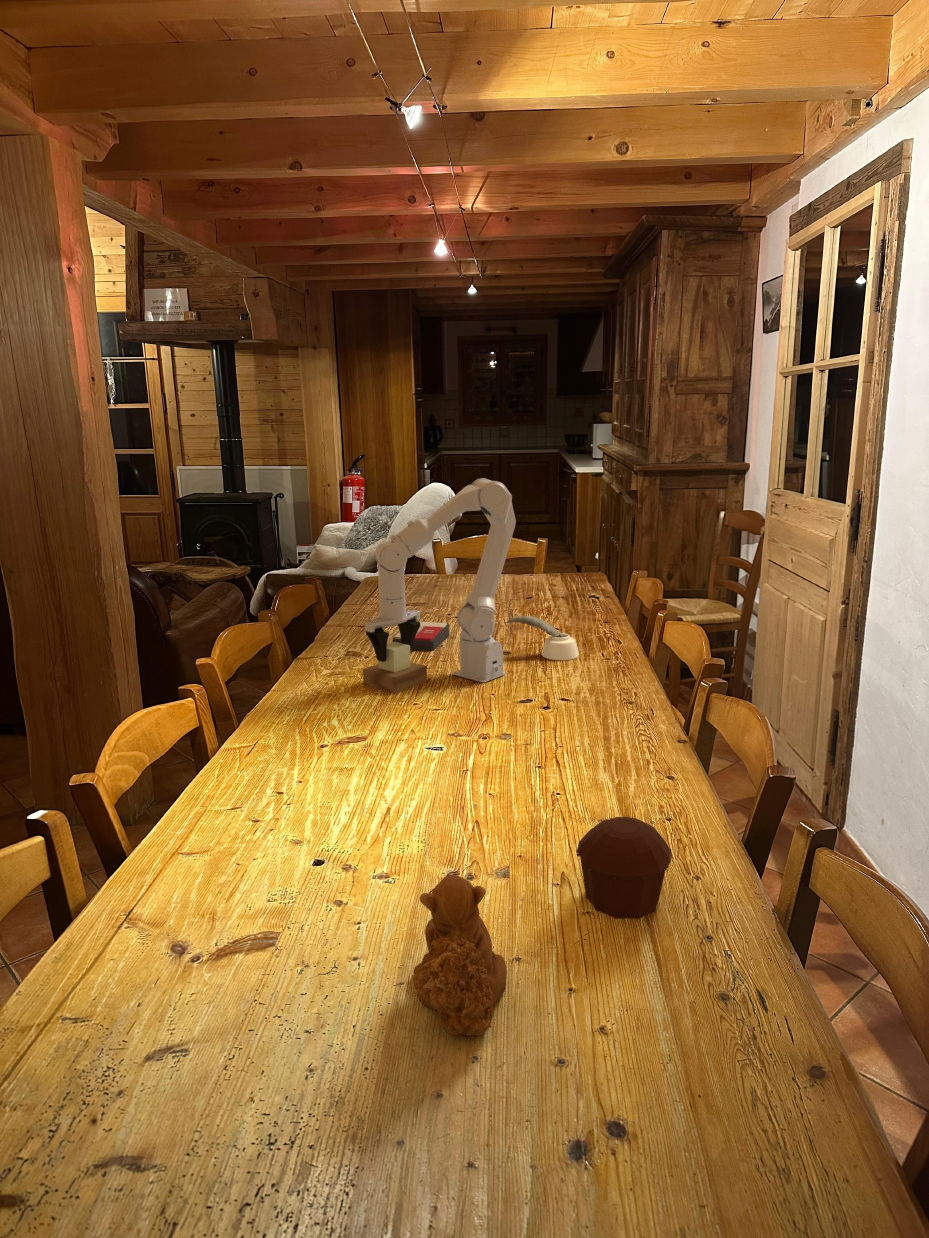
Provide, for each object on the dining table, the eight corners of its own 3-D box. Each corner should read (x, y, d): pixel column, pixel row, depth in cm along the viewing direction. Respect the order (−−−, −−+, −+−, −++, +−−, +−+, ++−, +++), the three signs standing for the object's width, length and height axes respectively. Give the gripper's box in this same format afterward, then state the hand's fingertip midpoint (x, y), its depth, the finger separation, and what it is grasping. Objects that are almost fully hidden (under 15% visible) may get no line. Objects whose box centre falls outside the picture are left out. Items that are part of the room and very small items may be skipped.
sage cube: (410, 667, 186) (409, 645, 184) (394, 672, 182) (393, 650, 181) (394, 662, 189) (394, 641, 187) (378, 668, 185) (377, 646, 184)
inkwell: (581, 660, 201) (582, 620, 198) (506, 661, 201) (506, 621, 198) (576, 649, 210) (577, 611, 207) (504, 651, 210) (504, 612, 207)
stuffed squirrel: (505, 960, 92) (504, 853, 89) (515, 1057, 79) (515, 934, 75) (414, 963, 92) (410, 855, 89) (409, 1060, 78) (404, 937, 75)
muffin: (607, 864, 111) (609, 795, 109) (685, 893, 104) (689, 820, 102) (558, 904, 102) (559, 830, 100) (639, 939, 96) (643, 860, 93)
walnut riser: (427, 683, 187) (426, 666, 186) (396, 695, 180) (396, 677, 179) (394, 675, 193) (393, 658, 192) (363, 686, 186) (362, 669, 185)
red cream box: (391, 636, 212) (410, 619, 226) (392, 652, 213) (411, 634, 227) (433, 638, 209) (449, 621, 223) (433, 654, 211) (449, 636, 224)
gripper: (403, 589, 189) (405, 646, 193) (354, 600, 179) (357, 661, 182) (425, 593, 185) (427, 652, 188) (376, 604, 174) (379, 667, 178)
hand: (394, 657), depth 185 cm, fingers open, 7 cm apart
